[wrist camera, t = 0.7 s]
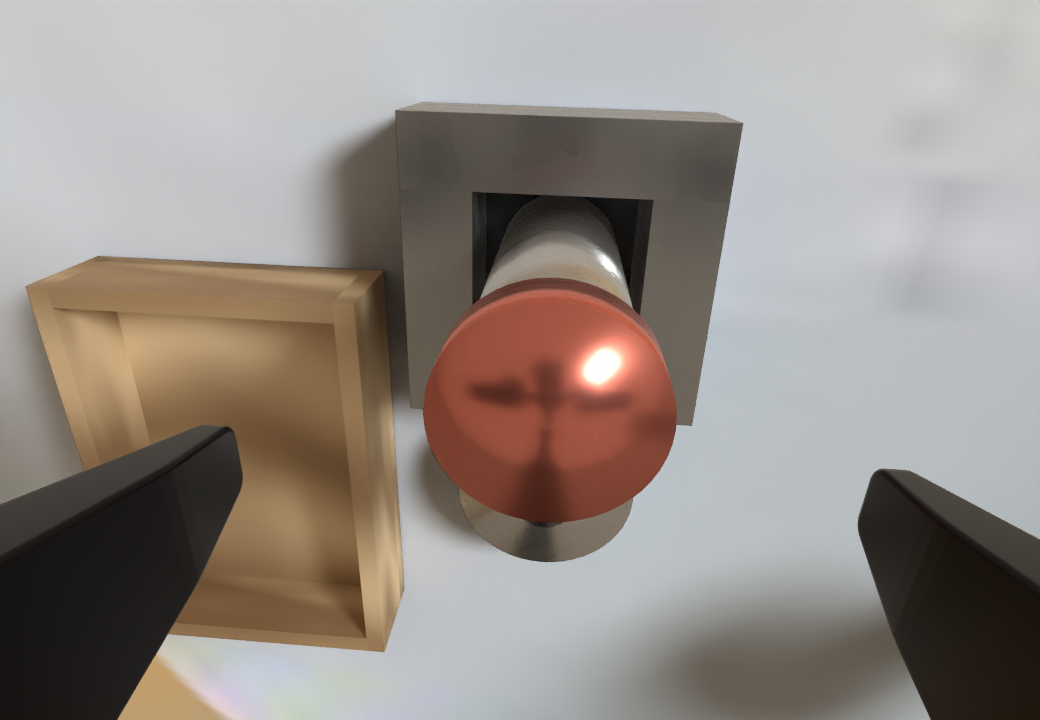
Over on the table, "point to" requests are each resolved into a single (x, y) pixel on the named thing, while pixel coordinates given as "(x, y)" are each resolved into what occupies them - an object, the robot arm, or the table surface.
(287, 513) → the tray
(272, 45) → the table surface
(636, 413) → the pin
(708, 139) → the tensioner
